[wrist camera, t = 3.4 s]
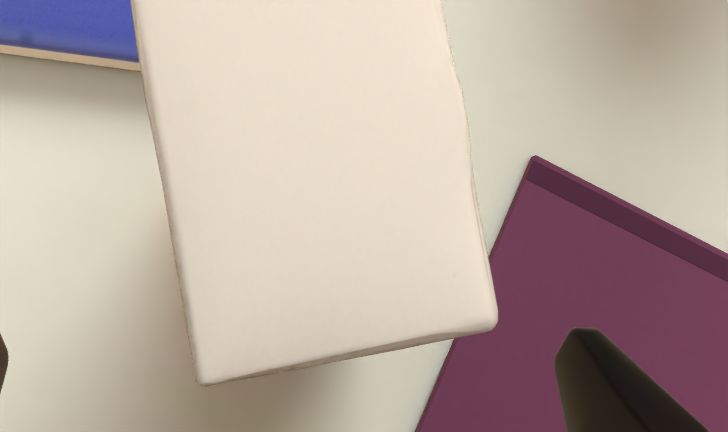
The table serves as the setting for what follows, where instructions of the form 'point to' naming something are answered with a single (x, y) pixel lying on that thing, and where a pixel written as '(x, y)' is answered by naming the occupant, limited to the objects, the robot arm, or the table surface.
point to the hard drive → (70, 31)
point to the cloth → (587, 309)
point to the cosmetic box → (313, 179)
